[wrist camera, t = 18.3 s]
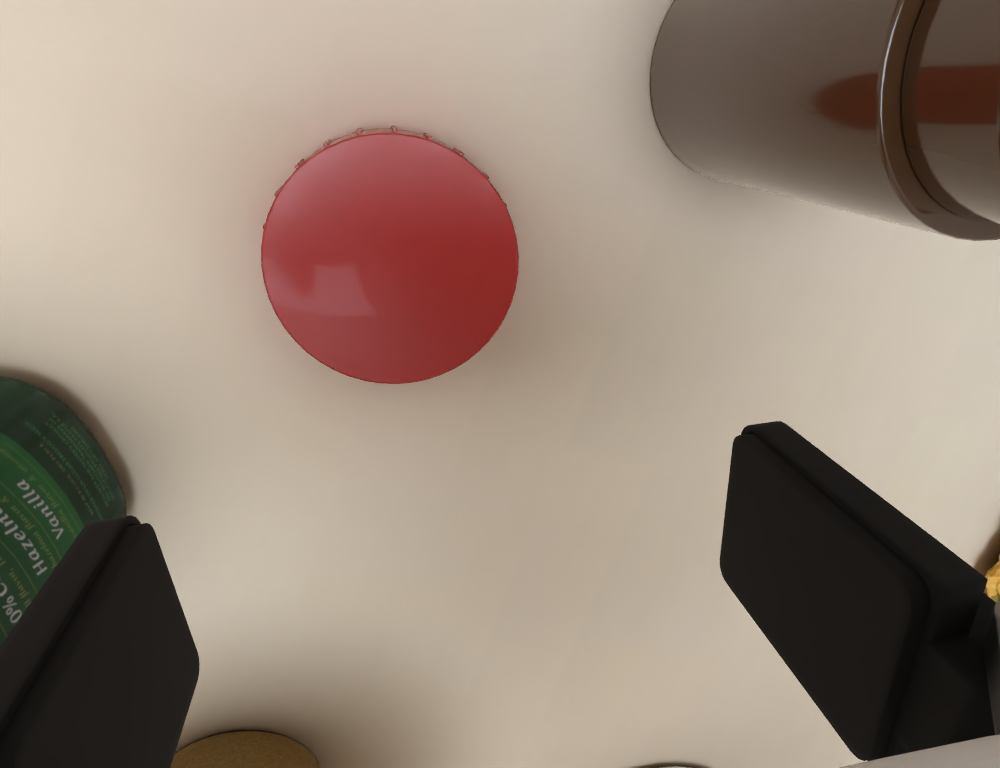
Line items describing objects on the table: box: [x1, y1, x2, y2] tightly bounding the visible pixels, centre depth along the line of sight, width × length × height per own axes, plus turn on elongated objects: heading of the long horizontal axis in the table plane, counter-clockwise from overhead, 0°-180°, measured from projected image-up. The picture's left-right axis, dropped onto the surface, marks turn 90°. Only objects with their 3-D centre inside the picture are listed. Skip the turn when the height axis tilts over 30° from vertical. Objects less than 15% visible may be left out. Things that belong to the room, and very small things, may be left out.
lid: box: [261, 126, 519, 384], centre depth 19 cm, size 8×8×2 cm
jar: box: [651, 0, 1000, 241], centre depth 15 cm, size 7×7×12 cm
